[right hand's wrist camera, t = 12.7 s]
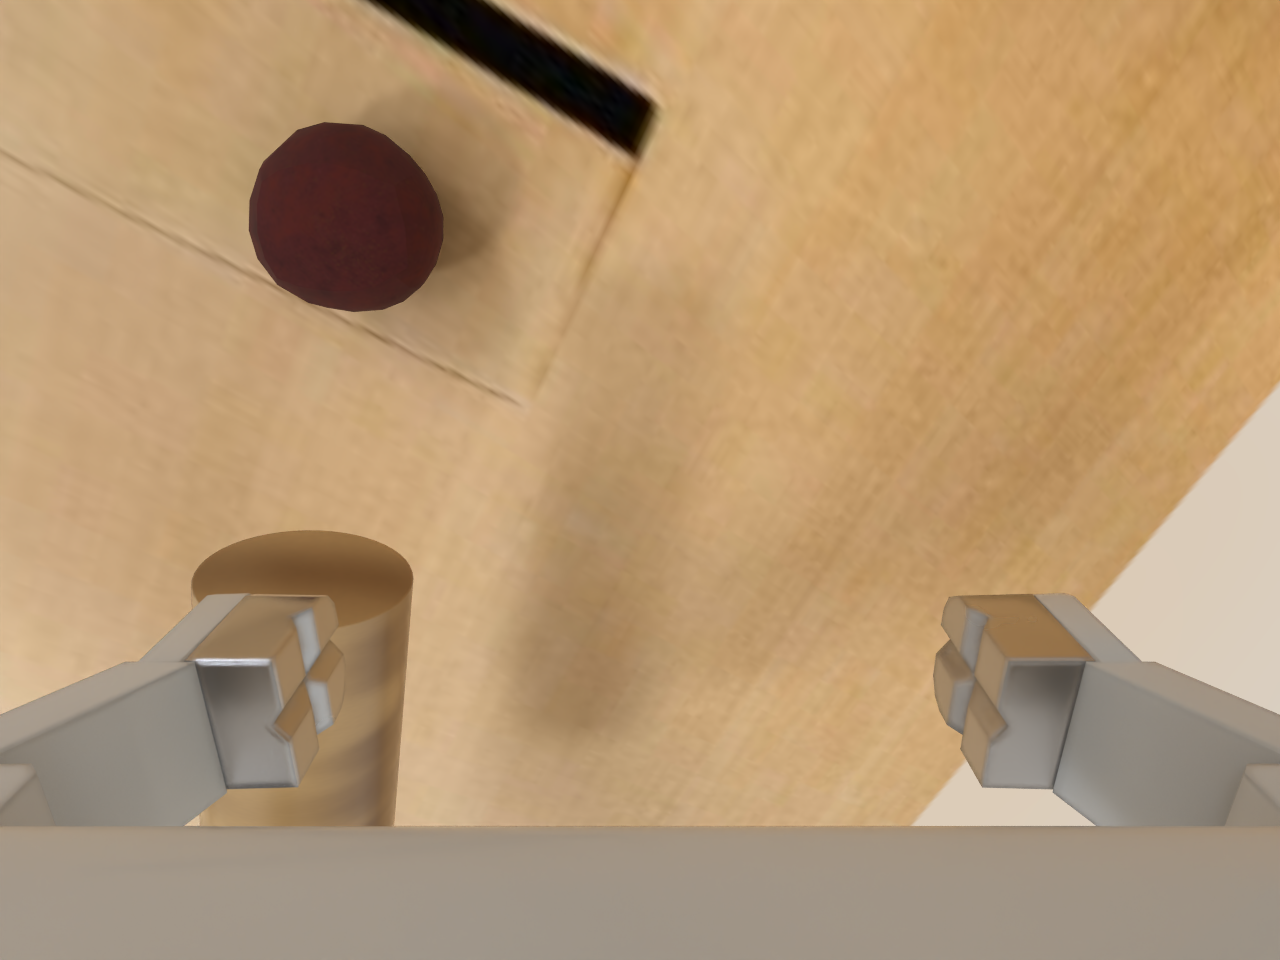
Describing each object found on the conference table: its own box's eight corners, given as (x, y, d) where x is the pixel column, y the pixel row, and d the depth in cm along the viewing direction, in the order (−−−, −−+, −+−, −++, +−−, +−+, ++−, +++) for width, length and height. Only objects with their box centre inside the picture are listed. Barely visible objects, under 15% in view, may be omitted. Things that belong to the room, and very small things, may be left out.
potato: (467, 295, 36) (430, 323, 30) (304, 299, 36) (231, 327, 30) (450, 124, 34) (404, 113, 27) (273, 129, 34) (185, 118, 27)
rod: (252, 518, 26) (143, 612, 20) (434, 546, 26) (378, 646, 21) (254, 999, 34) (178, 1162, 28) (393, 1014, 35) (345, 1178, 29)
